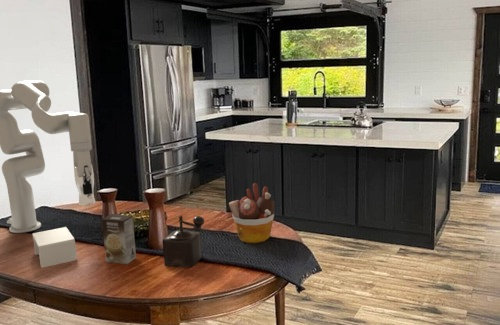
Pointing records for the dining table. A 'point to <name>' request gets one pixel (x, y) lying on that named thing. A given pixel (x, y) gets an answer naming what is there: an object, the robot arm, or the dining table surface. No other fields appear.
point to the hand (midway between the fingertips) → (85, 191)
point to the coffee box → (119, 238)
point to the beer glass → (83, 198)
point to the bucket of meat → (253, 216)
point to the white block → (54, 246)
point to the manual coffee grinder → (183, 245)
